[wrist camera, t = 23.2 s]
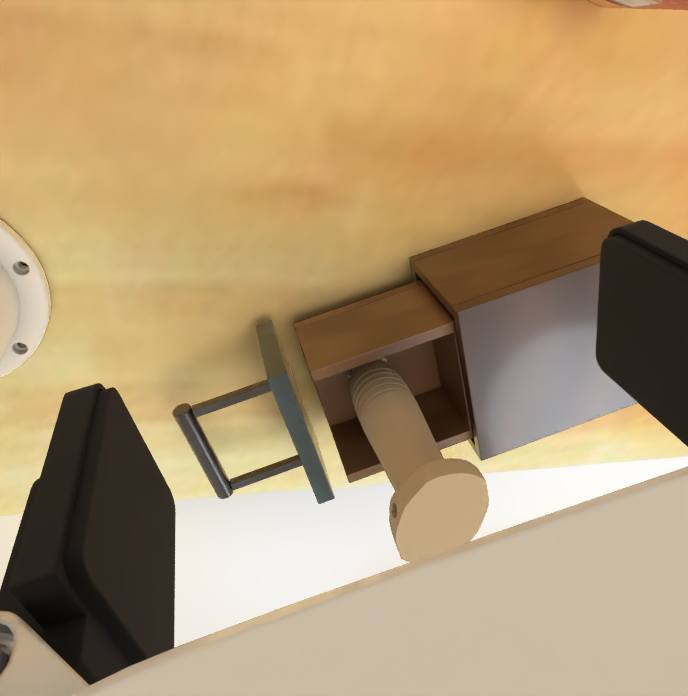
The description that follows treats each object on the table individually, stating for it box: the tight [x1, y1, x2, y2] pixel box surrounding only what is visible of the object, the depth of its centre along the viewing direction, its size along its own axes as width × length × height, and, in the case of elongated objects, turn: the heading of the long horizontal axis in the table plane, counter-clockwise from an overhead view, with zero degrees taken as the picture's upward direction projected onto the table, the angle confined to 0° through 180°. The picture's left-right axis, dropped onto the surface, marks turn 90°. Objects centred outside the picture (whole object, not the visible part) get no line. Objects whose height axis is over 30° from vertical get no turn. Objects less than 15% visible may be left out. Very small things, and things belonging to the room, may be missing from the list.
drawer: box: [173, 279, 474, 504], centre depth 40 cm, size 19×11×7 cm, turn 105°
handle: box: [346, 357, 489, 562], centre depth 36 cm, size 5×6×15 cm
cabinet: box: [409, 198, 638, 461], centre depth 41 cm, size 14×13×9 cm
